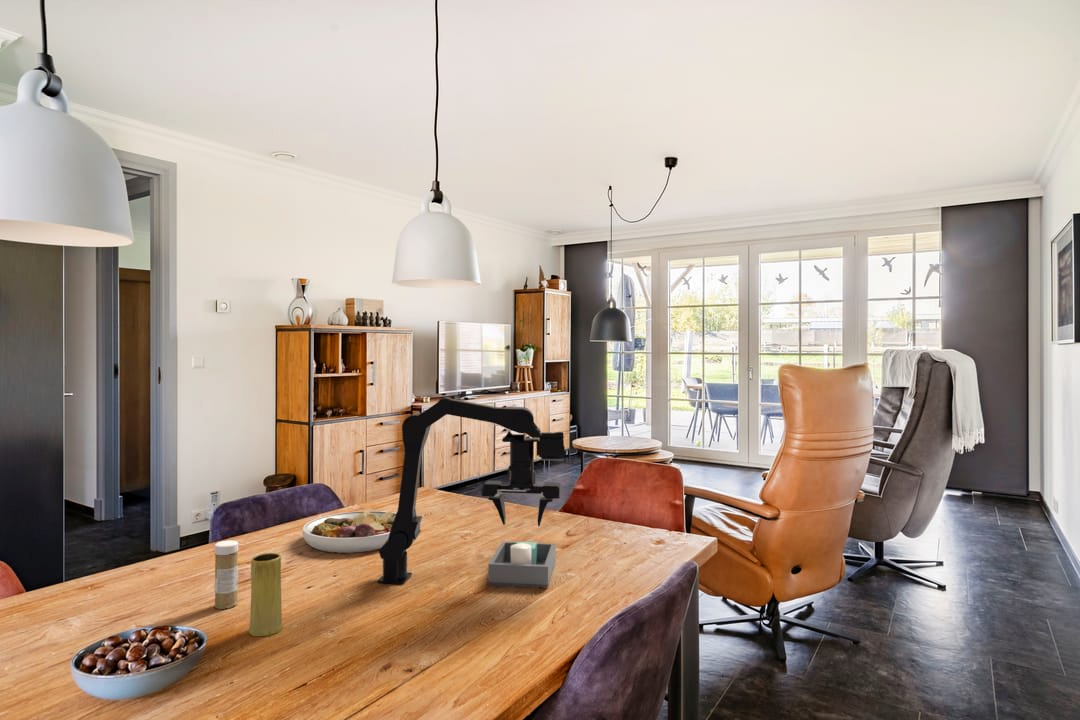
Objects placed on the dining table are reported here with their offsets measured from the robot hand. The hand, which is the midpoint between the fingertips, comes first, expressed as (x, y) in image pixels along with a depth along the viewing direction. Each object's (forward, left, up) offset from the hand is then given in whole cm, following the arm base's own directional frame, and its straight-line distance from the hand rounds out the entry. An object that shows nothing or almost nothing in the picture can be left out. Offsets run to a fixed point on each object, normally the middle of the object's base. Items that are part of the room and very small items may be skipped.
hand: (521, 525), depth 149 cm
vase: (-34, +45, -13) cm, 58 cm away
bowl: (+26, +52, -14) cm, 60 cm away
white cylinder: (0, 0, -12) cm, 12 cm away
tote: (+4, 0, -13) cm, 14 cm away
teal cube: (+8, 0, -12) cm, 15 cm away
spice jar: (-24, +60, -13) cm, 66 cm away
